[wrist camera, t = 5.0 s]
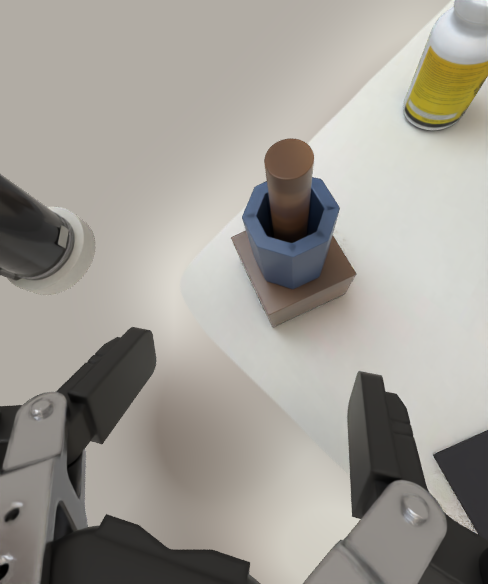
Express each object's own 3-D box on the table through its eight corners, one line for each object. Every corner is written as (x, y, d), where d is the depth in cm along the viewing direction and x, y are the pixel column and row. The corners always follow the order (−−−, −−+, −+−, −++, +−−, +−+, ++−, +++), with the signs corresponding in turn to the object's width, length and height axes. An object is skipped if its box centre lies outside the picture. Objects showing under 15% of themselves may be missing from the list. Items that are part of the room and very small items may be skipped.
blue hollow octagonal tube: (274, 298, 25) (267, 269, 19) (246, 241, 27) (231, 197, 21) (337, 268, 25) (353, 228, 19) (305, 213, 27) (309, 159, 20)
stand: (272, 327, 31) (247, 261, 14) (241, 261, 33) (187, 136, 16) (344, 294, 31) (410, 184, 14) (308, 230, 33) (324, 70, 16)
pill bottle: (451, 140, 33) (528, 22, 22) (392, 124, 35) (437, 7, 24) (471, 95, 35) (554, -38, 24) (413, 82, 36) (465, -48, 25)
